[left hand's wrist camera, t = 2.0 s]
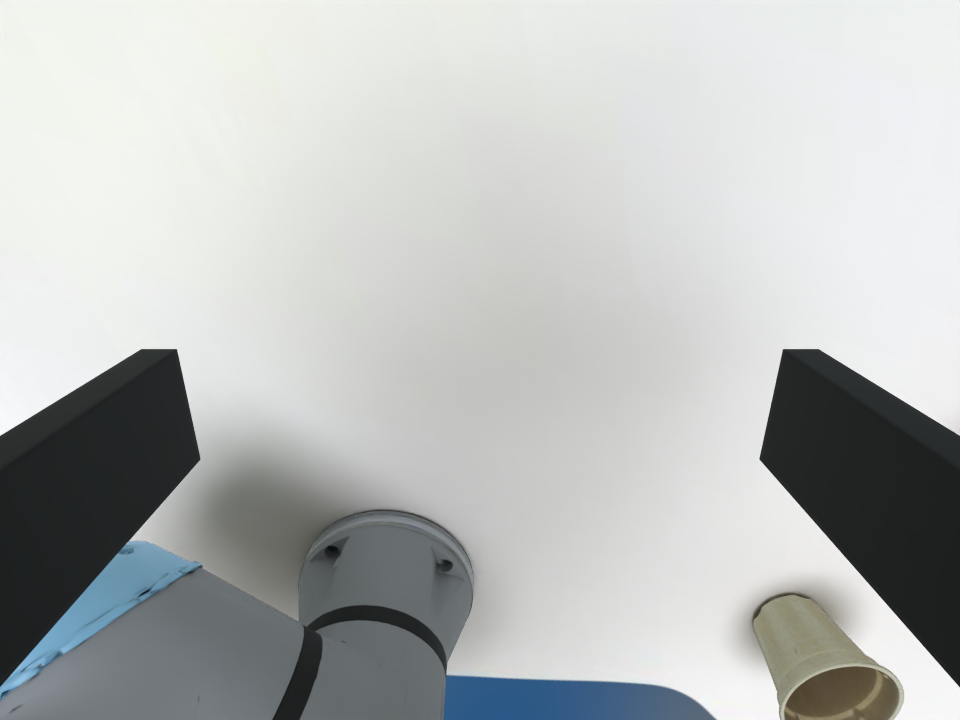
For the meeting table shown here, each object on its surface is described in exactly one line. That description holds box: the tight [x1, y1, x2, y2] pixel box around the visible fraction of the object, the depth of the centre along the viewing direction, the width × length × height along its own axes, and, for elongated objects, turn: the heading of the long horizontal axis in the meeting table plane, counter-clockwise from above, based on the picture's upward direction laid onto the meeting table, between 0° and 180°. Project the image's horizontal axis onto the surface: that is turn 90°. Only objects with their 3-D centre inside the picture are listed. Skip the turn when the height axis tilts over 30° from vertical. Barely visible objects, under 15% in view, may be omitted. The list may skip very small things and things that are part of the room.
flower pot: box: [753, 595, 904, 720], centre depth 47 cm, size 9×9×9 cm
